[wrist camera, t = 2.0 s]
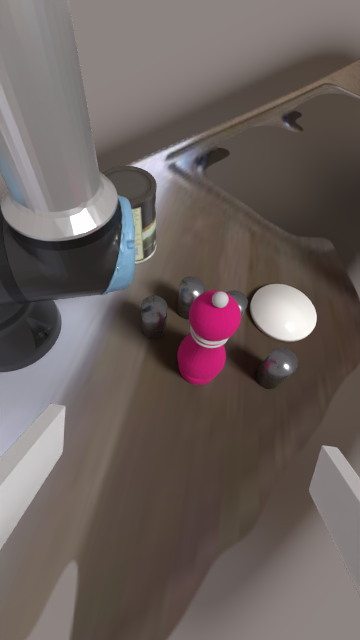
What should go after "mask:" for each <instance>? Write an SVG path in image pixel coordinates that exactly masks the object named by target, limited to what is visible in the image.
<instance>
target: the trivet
mask: <svg viewBox="0 0 360 640" xmlns="http://www.w3.org/2000/svg"><path fill="white" fill-rule="evenodd" d="M250 314H251V317H252V320H253V322H254V323H255V325H256V326H257V327H258V329H259V330H260V331H262V332H263V333H264V334H265V335H267V336H269V337H270V338H273V339H275V340H278V341H282V342H296V341H299V340H302V339H304V338H305V337H307V336H308V335H309V334H310V333H311V332H312V330H313V329H314V327H315V325H316V319H317V317H316V311H315V308H314V306H313V304H312V303H311V301H310V300H309V299H308V298H307V297H306V296H305V295H304V294H303V293H302V292H300V291H299V290H297V289H295V288H293V287H290V286H287V285H283V284H270V285H267V286H264V287H262V288H260V289H259V290H258V291H257V292H256V293H255V294H254V296H253V298H252V300H251V303H250Z"/></svg>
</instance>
